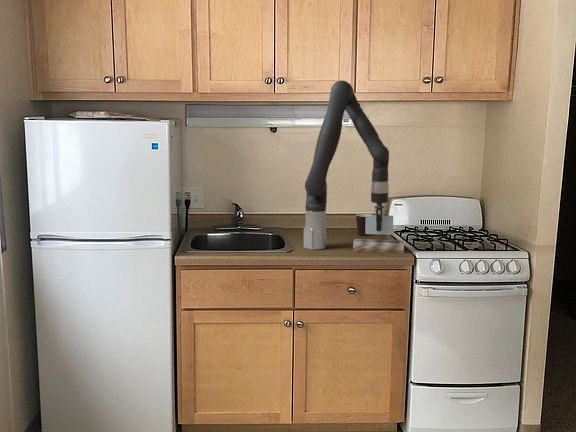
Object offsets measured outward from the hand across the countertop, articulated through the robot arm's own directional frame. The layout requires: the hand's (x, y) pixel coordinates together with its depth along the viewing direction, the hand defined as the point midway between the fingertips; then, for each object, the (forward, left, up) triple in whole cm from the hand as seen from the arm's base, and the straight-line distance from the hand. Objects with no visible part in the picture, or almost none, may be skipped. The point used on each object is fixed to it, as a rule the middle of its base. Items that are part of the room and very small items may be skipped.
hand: (378, 230), depth 254 cm
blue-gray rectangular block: (0, 0, -2) cm, 2 cm away
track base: (0, 0, -9) cm, 9 cm away
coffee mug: (+21, +29, -9) cm, 37 cm away
